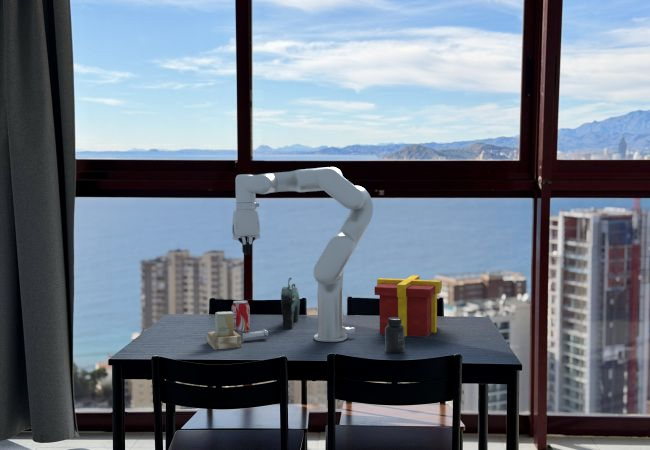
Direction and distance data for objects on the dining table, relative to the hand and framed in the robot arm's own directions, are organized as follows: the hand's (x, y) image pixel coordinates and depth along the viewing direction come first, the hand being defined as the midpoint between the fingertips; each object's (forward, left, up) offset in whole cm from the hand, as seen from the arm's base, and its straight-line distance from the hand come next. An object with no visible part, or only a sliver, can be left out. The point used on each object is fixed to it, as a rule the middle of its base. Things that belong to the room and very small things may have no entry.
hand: (246, 254), depth 330 cm
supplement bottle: (-42, +44, -32) cm, 69 cm away
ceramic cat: (-22, -15, -32) cm, 42 cm away
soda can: (0, -11, -32) cm, 34 cm away
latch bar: (-1, +7, -31) cm, 32 cm away
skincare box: (+12, +10, -32) cm, 36 cm away
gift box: (-62, +14, -32) cm, 71 cm away
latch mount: (+5, +7, -32) cm, 33 cm away
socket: (+12, +10, -32) cm, 36 cm away
